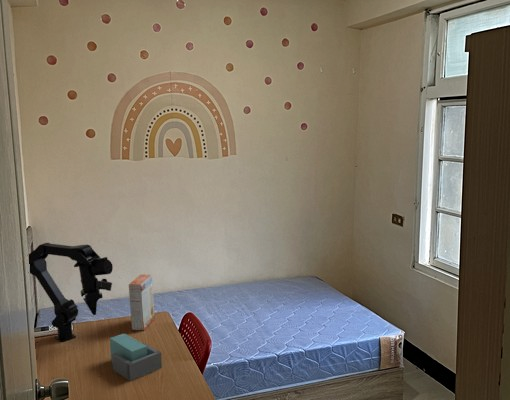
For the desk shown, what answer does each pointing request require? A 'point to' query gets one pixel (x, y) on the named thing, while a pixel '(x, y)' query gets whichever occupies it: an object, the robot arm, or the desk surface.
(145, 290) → the cracker box
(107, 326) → the desk surface
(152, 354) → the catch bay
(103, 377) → the desk surface
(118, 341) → the teal block
